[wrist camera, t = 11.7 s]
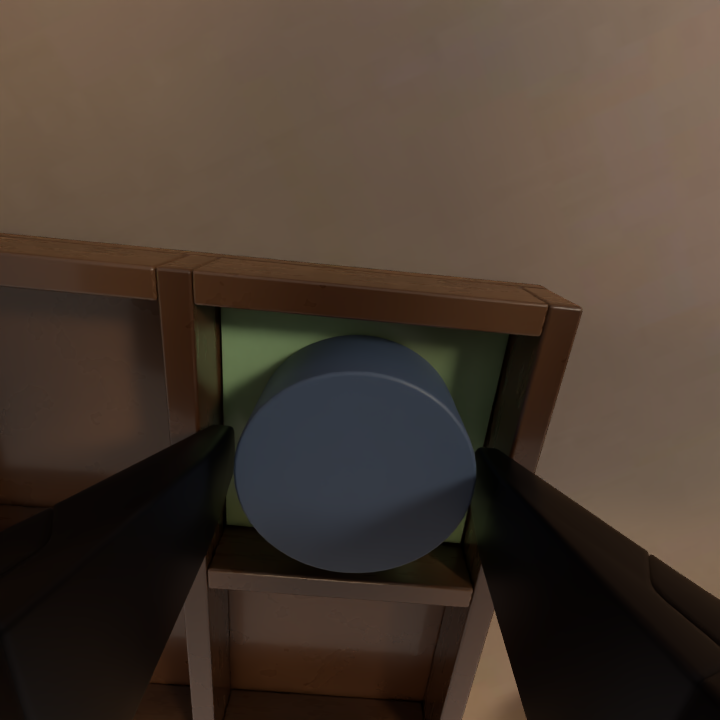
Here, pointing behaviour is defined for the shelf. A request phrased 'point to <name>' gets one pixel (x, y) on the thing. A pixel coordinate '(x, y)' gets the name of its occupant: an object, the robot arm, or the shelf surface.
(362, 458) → the short blue cylinder
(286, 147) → the shelf surface
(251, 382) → the grid
